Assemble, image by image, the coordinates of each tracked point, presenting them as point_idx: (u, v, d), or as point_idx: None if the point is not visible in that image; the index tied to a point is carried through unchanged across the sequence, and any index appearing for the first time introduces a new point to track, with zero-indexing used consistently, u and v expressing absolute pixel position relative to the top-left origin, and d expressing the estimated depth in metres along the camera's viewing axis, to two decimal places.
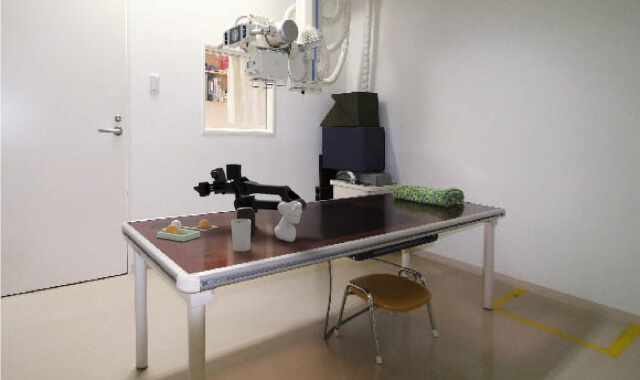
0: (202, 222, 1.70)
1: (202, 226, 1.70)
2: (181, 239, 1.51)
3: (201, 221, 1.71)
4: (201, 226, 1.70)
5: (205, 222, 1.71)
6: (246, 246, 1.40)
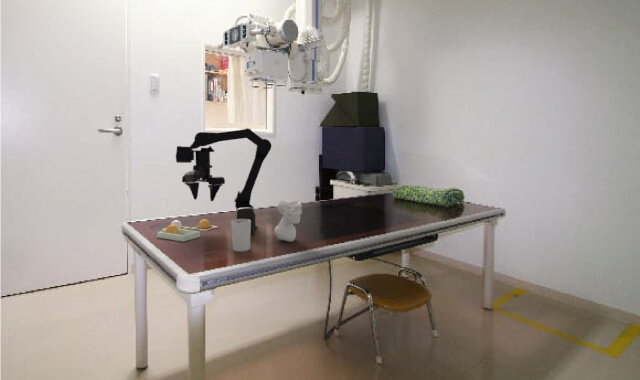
0: (202, 222, 1.70)
1: (202, 226, 1.70)
2: (181, 239, 1.51)
3: (201, 221, 1.71)
4: (201, 226, 1.70)
5: (205, 222, 1.71)
6: (246, 246, 1.40)
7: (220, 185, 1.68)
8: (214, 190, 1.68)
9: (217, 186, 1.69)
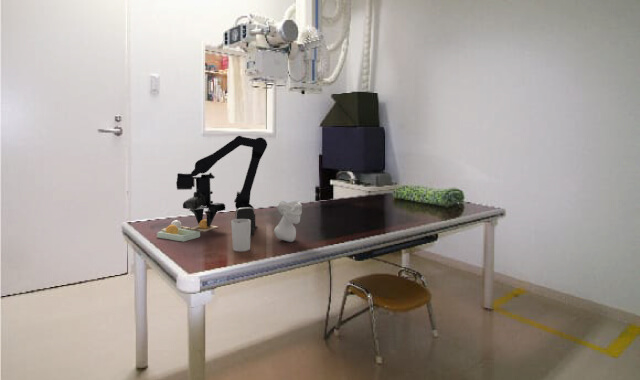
0: (202, 222, 1.70)
1: (202, 226, 1.70)
2: (181, 239, 1.51)
3: (201, 221, 1.71)
4: (201, 226, 1.70)
5: (205, 222, 1.71)
6: (246, 246, 1.40)
7: None
8: (211, 216, 1.70)
9: (214, 212, 1.71)
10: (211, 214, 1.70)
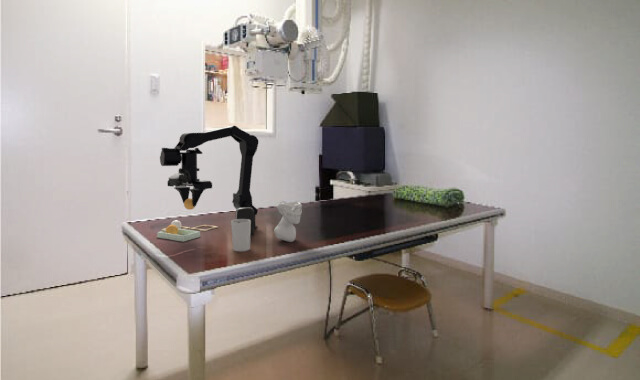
0: (187, 201, 1.58)
1: (187, 205, 1.58)
2: (181, 239, 1.51)
3: (186, 200, 1.58)
4: (186, 205, 1.58)
5: (190, 201, 1.58)
6: (246, 246, 1.40)
7: (203, 189, 1.58)
8: (196, 194, 1.58)
9: (200, 190, 1.58)
10: (197, 193, 1.58)
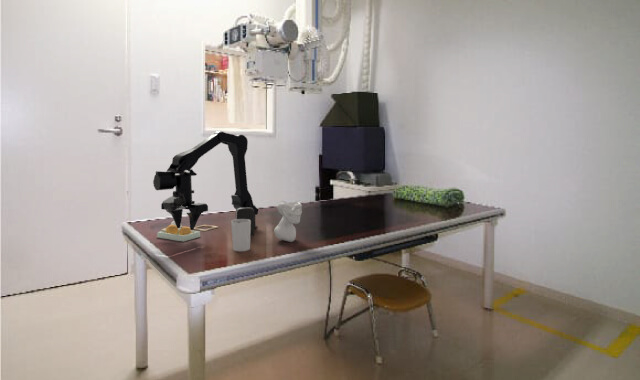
0: (182, 230, 1.54)
1: (182, 234, 1.53)
2: (181, 239, 1.51)
3: (181, 228, 1.54)
4: (181, 234, 1.54)
5: (186, 230, 1.54)
6: (246, 246, 1.40)
7: (201, 212, 1.53)
8: (194, 218, 1.53)
9: (197, 213, 1.53)
10: (195, 216, 1.53)
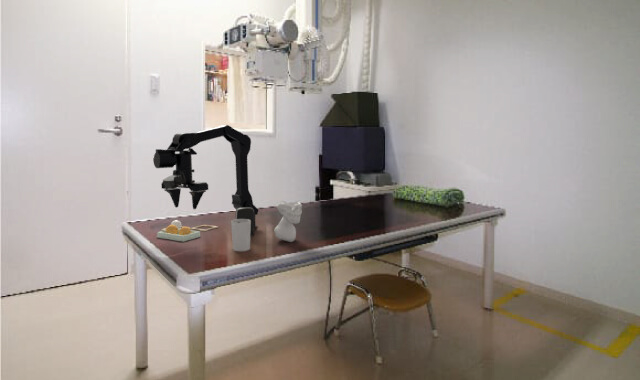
0: (182, 230, 1.54)
1: (182, 234, 1.53)
2: (181, 239, 1.51)
3: (181, 228, 1.54)
4: (181, 234, 1.54)
5: (186, 229, 1.54)
6: (246, 246, 1.40)
7: (203, 191, 1.52)
8: (197, 197, 1.52)
9: (200, 192, 1.53)
10: (197, 195, 1.52)
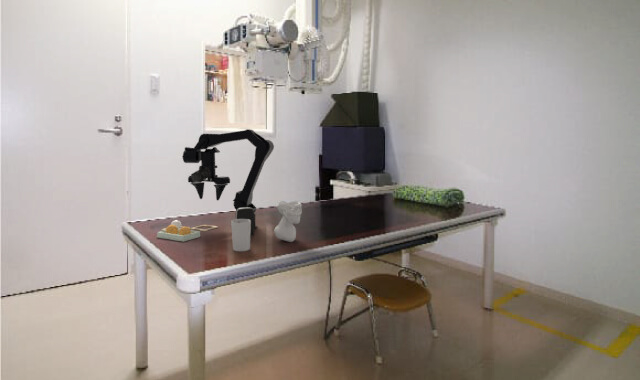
0: (182, 230, 1.54)
1: (182, 234, 1.53)
2: (181, 239, 1.51)
3: (181, 228, 1.54)
4: (181, 234, 1.54)
5: (185, 229, 1.54)
6: (246, 246, 1.40)
7: (225, 185, 1.74)
8: (220, 189, 1.74)
9: (222, 186, 1.74)
10: (220, 188, 1.74)
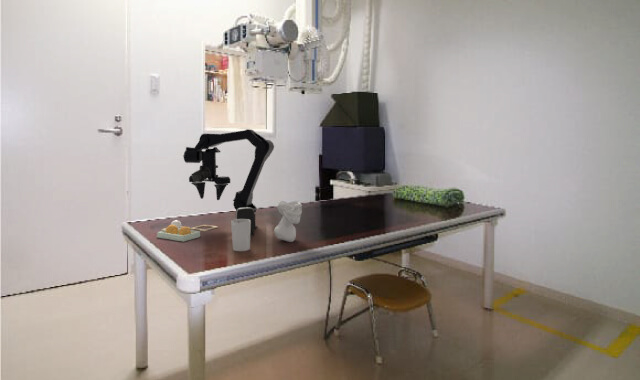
0: (182, 229, 1.54)
1: (182, 234, 1.53)
2: (181, 239, 1.51)
3: (181, 228, 1.54)
4: (181, 234, 1.54)
5: (185, 229, 1.54)
6: (246, 246, 1.40)
7: (226, 184, 1.74)
8: (220, 189, 1.74)
9: (223, 185, 1.75)
10: (220, 188, 1.74)
